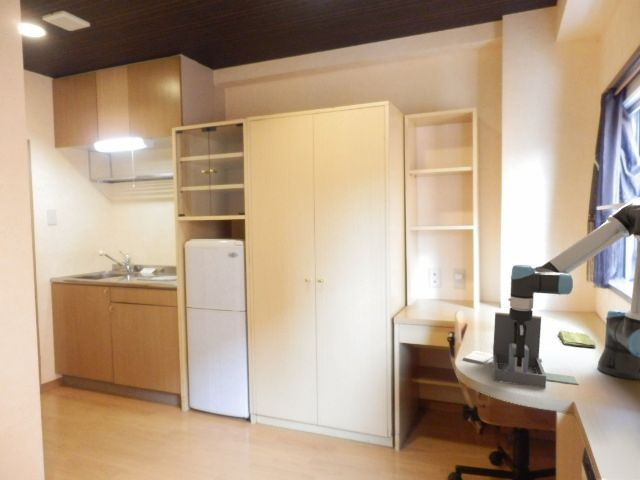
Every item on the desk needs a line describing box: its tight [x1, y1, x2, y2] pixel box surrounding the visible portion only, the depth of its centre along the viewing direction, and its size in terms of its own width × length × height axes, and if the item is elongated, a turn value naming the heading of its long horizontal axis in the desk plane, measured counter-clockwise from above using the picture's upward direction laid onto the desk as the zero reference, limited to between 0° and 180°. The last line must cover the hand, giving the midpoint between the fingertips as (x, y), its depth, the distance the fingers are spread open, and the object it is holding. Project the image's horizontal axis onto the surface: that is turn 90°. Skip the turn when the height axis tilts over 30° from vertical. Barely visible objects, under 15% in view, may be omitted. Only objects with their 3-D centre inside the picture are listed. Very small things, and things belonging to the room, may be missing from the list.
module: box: [507, 343, 529, 373], centre depth 162 cm, size 6×6×10 cm
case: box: [492, 311, 547, 389], centre depth 162 cm, size 17×21×20 cm
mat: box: [545, 372, 579, 386], centre depth 159 cm, size 10×7×1 cm
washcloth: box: [557, 330, 597, 349], centre depth 205 cm, size 13×18×3 cm
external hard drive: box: [462, 350, 493, 366], centre depth 179 cm, size 2×8×12 cm
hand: (517, 371), depth 162 cm, fingers closed on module, 6 cm apart
